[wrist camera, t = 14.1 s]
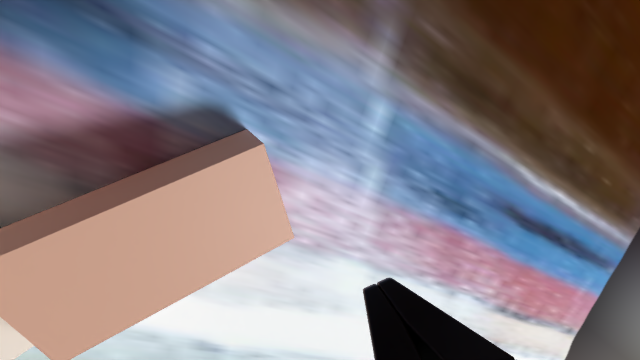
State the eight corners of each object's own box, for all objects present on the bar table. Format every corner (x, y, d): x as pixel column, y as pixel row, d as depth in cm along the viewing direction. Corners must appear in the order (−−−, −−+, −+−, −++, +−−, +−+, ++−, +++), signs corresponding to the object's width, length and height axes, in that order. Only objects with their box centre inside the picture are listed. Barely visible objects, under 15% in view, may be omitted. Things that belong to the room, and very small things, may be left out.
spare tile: (263, 143, 13) (-49, 276, 10) (294, 237, 16) (58, 365, 13) (246, 128, 15) (-28, 239, 11) (277, 217, 17) (63, 326, 14)
